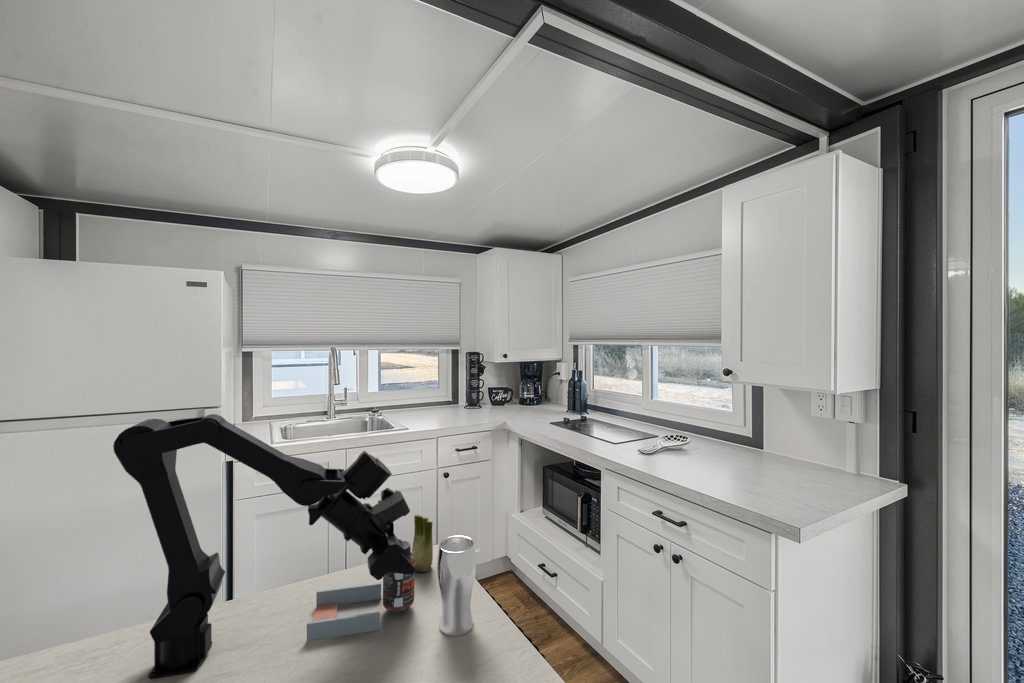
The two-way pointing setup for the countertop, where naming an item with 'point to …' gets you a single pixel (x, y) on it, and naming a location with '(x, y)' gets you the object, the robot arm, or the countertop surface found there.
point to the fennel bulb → (422, 543)
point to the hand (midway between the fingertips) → (410, 564)
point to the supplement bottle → (399, 586)
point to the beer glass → (456, 583)
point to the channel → (331, 626)
